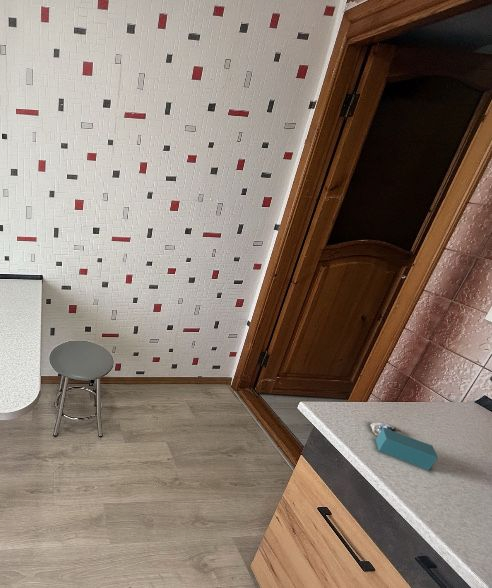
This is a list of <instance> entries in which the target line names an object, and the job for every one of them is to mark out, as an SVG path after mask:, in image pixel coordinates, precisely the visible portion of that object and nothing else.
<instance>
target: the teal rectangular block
mask: <svg viewBox="0 0 492 588" xmlns="http://www.w3.org/2000/svg"><path fill="white" fill-rule="evenodd" d="M375 444H376V446H377V450H378V451H379V452H381V453H384V454H386V455H389V456H391V457H394V458H396V459H399V460H402V461H405V462H406V463H409V464H412V465H414V466H417V467H419V468H422V469H424V470H427V471H430V470H431V469H432V467H433V466H434V464H435V463H436V462H437V460H438V458H439V457H438V454H437V451H436V450H435V448H434V445H432V444H429V443H427V442H424V441H422V440H418V439H415V438H413V437H411V436H407V435H404V434H403V433H401V434H399V433H396V432H394V431H391V430H388V429H386V428H382V430H381V431H380V433H379V435H378V436H377V435H376V438H375Z"/></svg>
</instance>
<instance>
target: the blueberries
mask: <svg viewBox="0 0 492 588" xmlns="http://www.w3.org/2000/svg"><path fill="white" fill-rule="evenodd" d="M370 428H371V429H372V431H371V432H373V434H374V435H375V436H376V437H377V436H378V435H379V433H380V431H381V430H382V428H386V429H388V430H391V431H394V432H396V433H399V434H402V431H401V430H400V429H398V428H396V427H394V426H392V425H391V424H390V423H388V422H380V421H379V422H373V423H370Z"/></svg>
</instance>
